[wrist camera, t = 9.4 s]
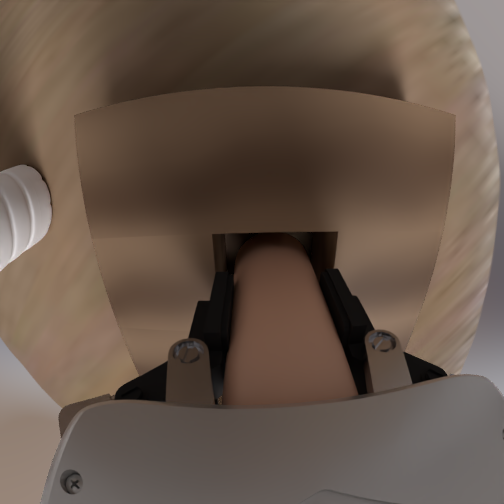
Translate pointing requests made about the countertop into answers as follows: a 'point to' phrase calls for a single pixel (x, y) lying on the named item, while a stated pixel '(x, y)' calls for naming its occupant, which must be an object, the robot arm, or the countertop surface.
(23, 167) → the water bottle
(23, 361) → the countertop surface
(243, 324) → the peg
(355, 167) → the socket block
